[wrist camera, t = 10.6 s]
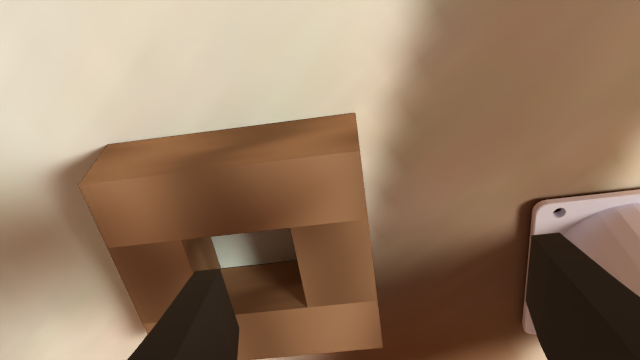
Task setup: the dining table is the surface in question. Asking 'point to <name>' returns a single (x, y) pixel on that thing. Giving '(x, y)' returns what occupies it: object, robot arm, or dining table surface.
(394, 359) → the dining table surface
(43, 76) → the dining table surface
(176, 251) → the brown square frame
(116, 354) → the dining table surface
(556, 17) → the dining table surface
